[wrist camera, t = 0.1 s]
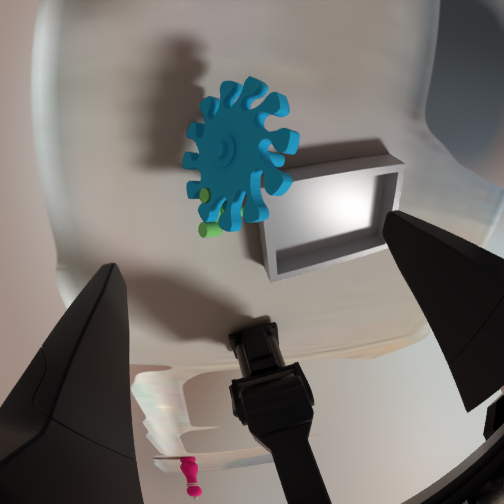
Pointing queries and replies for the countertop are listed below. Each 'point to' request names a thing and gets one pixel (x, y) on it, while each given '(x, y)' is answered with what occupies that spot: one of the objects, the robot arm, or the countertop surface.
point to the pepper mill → (191, 476)
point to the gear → (238, 156)
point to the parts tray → (329, 214)
